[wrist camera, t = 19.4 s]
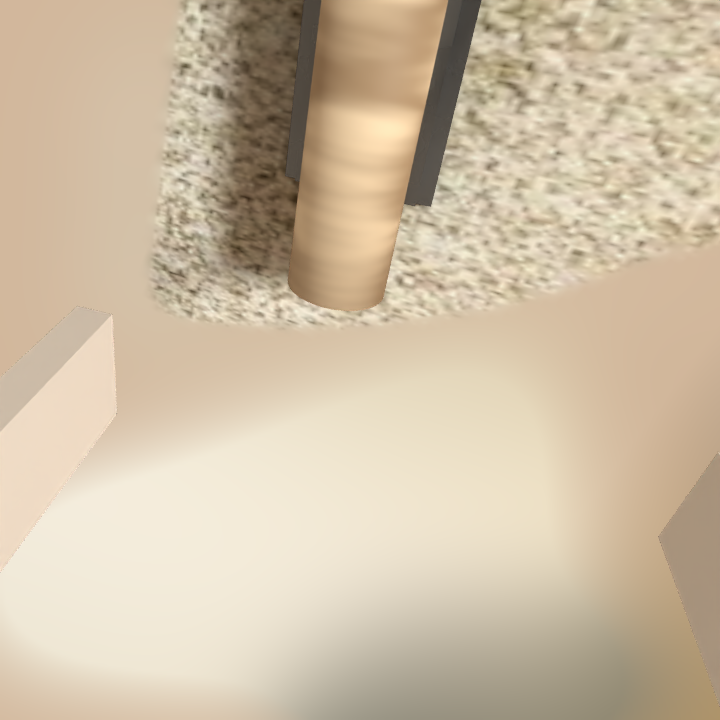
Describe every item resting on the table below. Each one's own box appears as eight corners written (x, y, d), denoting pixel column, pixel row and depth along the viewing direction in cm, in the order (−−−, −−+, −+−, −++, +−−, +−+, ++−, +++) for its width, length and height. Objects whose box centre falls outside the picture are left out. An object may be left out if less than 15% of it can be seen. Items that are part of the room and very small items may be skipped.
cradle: (314, -70, 27) (302, -74, 25) (488, -33, 27) (492, -34, 25) (287, 172, 33) (276, 186, 31) (431, 203, 33) (430, 219, 31)
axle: (369, -158, 24) (321, -191, 20) (491, -137, 23) (466, -168, 19) (311, 256, 34) (270, 290, 30) (395, 283, 33) (365, 321, 29)
